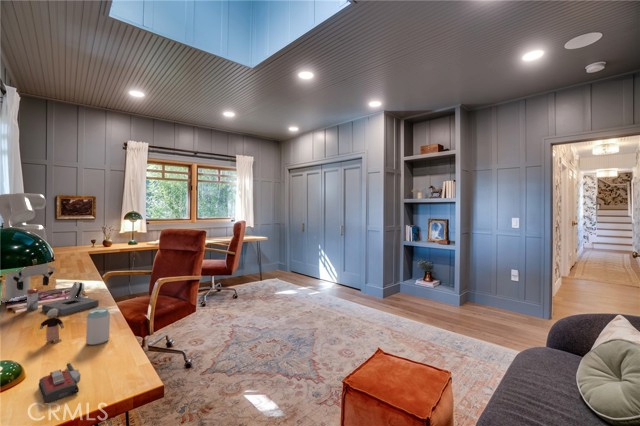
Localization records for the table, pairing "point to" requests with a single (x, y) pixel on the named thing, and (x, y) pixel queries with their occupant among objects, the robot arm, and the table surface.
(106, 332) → the can
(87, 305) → the socket block
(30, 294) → the pin
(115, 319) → the table surface
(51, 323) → the grandmother figurine
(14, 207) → the robot arm
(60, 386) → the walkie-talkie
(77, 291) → the grey curved electronic device
